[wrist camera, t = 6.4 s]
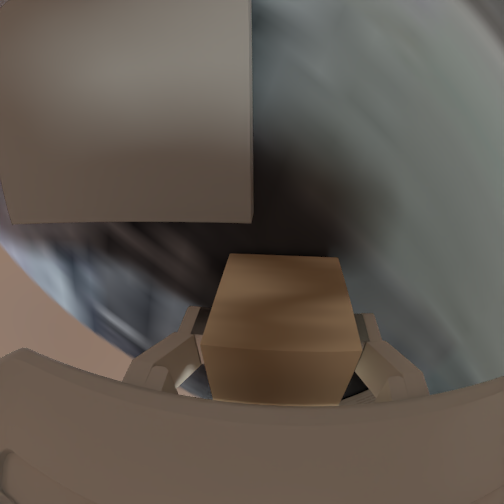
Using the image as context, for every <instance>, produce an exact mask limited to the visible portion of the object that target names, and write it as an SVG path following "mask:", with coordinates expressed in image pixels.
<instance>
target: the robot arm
mask: <svg viewBox="0 0 504 504" xmlns="http://www.w3.org/2000/svg"><path fill="white" fill-rule="evenodd" d="M211 309H212V308H208V307H197V306H189V307H188V308H187V311H186V313H185V316H184V318H183V320H182V323H181V325H180V327H179V330H178V332H174V333H172V334H171V335H169V336H168V337H166V338H165V339H163V340H162V341H160V342H159V343H157V344H156V345H154V346H153V347H151V348H150V349H148V350H147V351H145V352H144V353H142V354H141V355H139V356H138V357H136V358H135V359H133V360H132V362H131V364H130V366H129V368H128V371H127V372H126V374H125V377H124V379H123V381H122V382H121V381H117V380H113V379H110V378H107V377H103V376H100V375H97V374H93V373H90V372H87V371H84V370H81V369H78V368H75V367H73V366H70V365H67V364H64V363H62V362H59V361H56V360H54V359H51V358H49V357H47V356H44V355H41V354H39V353H37V352H35V351H33V350H31V349H28V348H21V349H18V350H16V351H14V352H11V353H9V354H7V355H5V356H4V357H2V358H0V504H504V376H501V377H498V378H495V379H492V380H489V381H486V382H482V383H479V384H475V385H472V386H468V387H464V388H460V389H456V390H452V391H447V392H443V393H438V394H433V395H430V394H429V391H428V388H427V385H426V382H425V378H424V375H423V372H422V371H420V370H419V369H418V368H417V367H416V366H415V365H413V364H412V363H411V362H410V361H409V360H408V359H406V358H405V357H404V356H403V355H402V354H400V353H399V352H398V351H397V350H396V349H395V348H393V347H392V346H391V345H390V344H389V343H388V342H386V341H382V338H381V335H380V331H379V328H378V325H377V322H376V319H375V316H374V314H373V313H361V314H354V317H355V321H356V325H357V329H358V334H359V338H360V342H361V346H362V353H361V356H360V358H359V361H358V363H357V366H356V368H355V372H356V374H357V375H358V376H359V377H360V379H361V380H362V381H363V382H364V383H365V385H366V386H367V387H368V388H369V390H370V391H371V392H372V393H373V395H374V396H375V397H376V399H375V401H374V403H369V404H356V405H339V406H275V405H258V404H245V403H235V402H226V401H217V400H210V399H203V398H196V397H190V396H184V395H179V394H178V392H177V390H176V388H177V387H178V386H179V385H180V384H181V383H183V382H184V381H185V380H186V379H187V378H188V377H189V376H190V375H191V374H192V373H193V372H194V371H195V370H196V369H197V368H198V367H199V366H200V365H201V364H204V360H203V356H202V351H201V347H200V343H201V340H202V336H203V333H204V330H205V327H206V324H207V321H208V318H209V315H210V312H211Z"/></svg>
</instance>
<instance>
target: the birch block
mask: <svg viewBox="0 0 504 504" xmlns="http://www.w3.org/2000/svg"><path fill="white" fill-rule="evenodd" d="M200 347H201V351H202V356H203V360H204V364H205V369H206V373H207V377H208V381H209V385H210V389H211V393H212V397H213V400H217V401H226V402H235V403H245V404H258V405H275V406H338V405H339V403H340V401H341V399H342V397H343V395H344V393H345V391H346V388H347V386H348V384H349V382H350V380H351V377H352V375H353V373H354V370H355V368H356V366H357V363H358V361H359V358H360V356H361V353H362V346H361V342H360V338H359V334H358V329H357V325H356V321H355V317H354V313H353V309H352V305H351V302H350V298H349V294H348V291H347V287H346V283H345V280H344V276H343V273H342V269H341V266H340V263H339V259H338V258H336V257H310V256H284V255H259V254H234V253H230V254H229V257H228V260H227V263H226V266H225V269H224V272H223V275H222V278H221V281H220V284H219V287H218V290H217V293H216V296H215V299H214V302H213V305H212V309H211V312H210V315H209V318H208V321H207V324H206V327H205V330H204V333H203V336H202V340H201V343H200Z"/></svg>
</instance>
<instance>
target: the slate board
mask: <svg viewBox="0 0 504 504" xmlns="http://www.w3.org/2000/svg"><path fill="white" fill-rule="evenodd" d="M0 179H1V184H2V188H3V193H4V197H5V201H6V205H7V209H8V213H9V216H10V220H11V223H12V225H14V224H38V223H72V222H219V223H251V222H252V218H253V214H254V192H253V95H252V14H251V0H9V1H8V2H6V3H5V4H4V5H3V6H2V7H1V9H0Z"/></svg>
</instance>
